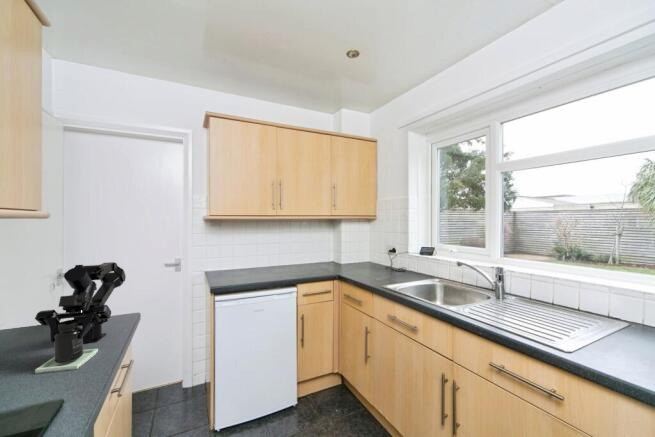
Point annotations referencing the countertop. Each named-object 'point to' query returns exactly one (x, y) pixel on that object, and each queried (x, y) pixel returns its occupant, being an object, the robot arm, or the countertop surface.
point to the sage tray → (72, 365)
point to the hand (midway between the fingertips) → (66, 340)
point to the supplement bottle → (68, 342)
